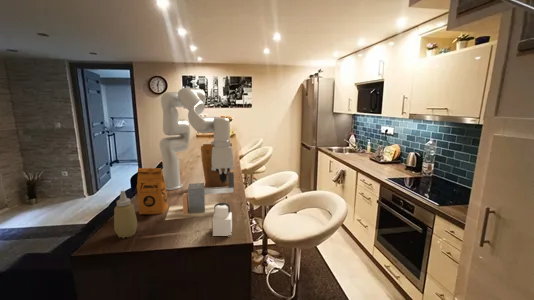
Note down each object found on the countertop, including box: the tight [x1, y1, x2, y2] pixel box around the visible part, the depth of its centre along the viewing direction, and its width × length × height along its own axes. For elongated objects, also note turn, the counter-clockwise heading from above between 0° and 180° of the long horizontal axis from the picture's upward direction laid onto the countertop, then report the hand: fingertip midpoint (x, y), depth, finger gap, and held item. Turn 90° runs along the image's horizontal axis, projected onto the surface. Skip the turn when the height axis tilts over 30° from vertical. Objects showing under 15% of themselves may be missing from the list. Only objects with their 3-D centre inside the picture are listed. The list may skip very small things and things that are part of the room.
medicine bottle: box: [211, 202, 233, 237], centre depth 98 cm, size 7×7×12 cm
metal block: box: [187, 182, 206, 214], centre depth 117 cm, size 8×7×12 cm
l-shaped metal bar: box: [204, 171, 235, 195], centre depth 118 cm, size 2×20×10 cm, turn 104°
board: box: [164, 201, 220, 221], centre depth 118 cm, size 16×24×1 cm, turn 104°
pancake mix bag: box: [200, 142, 233, 188], centre depth 155 cm, size 7×19×28 cm, turn 100°
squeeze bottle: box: [113, 190, 138, 239], centre depth 96 cm, size 8×8×18 cm
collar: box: [182, 192, 189, 214], centre depth 117 cm, size 7×2×7 cm, turn 14°
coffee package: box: [136, 167, 169, 216], centre depth 116 cm, size 10×12×22 cm
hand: (223, 181), depth 119 cm, fingers closed
